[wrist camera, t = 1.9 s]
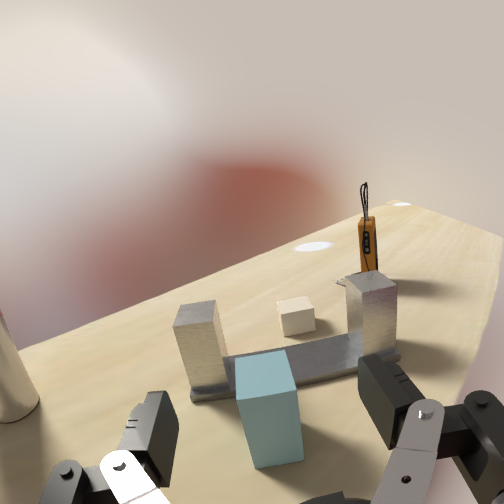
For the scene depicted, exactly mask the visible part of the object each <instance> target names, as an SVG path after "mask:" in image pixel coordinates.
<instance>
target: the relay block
mask: <svg viewBox="0 0 504 504" xmlns="http://www.w3.org/2000/svg"><path fill="white" fill-rule="evenodd" d="M276 304H277V311H278V318H279V324H280V327H281V330H282V333H283V336H284V337H286V336H291V335H296V334H301V333H306V332H311V331H315V330H316V326H315V315H314V307H313V306H312V304H311V302H310V301H309V299H308V298H307V296H303V297H298V298H292V299H287V300H282V301H276Z"/></svg>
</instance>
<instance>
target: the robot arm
mask: <svg viewBox="0 0 504 504" xmlns="http://www.w3.org/2000/svg"><path fill="white" fill-rule="evenodd" d="M358 391H359V395H360V398H361V400H362V402H363V404H364V406H365V407H366V409H367V411H368V413H369V415H370V417H371V418H372V420H373V422H374V424H375V426H376V428H377V429H378V431H379V433H380V435H381V437H382V439H383V441H384V442H385V444H386V446H387V448H388V450H392V449H393V451H392V454H391V456H390V459H389V461H388V464H387V466H386V469H385V471H384V474H383V476H382V478H381V481H380V483H379V485H378V488H377V490H376V492H375V494H374V497H373V499H372V501H371V500H366V499H359V498H344V495H343V492H342V491H341V492H337V493H333V494H329V495H325V496H321V497H316V498H312V499H310V500H307V501H305V502H303V503H300V504H424V501H425V498H426V494H427V491H428V488H429V484H430V481H431V477H432V474H433V470H434V465H435V462H436V459H442V458H448V457H452V459H453V461H454V462H455V464H456V466H457V467H458V469H459V471H460V472H461V474H462V476H463V478H464V479H465V481H466V483H467V485H468V486H469V488H470V490H471V492H472V493H473V495H474V497H475V499H476V500H477V502H478V504H504V406H503V405H502V403H501V402H500V401H499V400H498V399H497V398H496V397H495V396H494V395H493V394H492V393H490V392H487V391H483V390H479V391H474V392H471V393H470V394H468V395H467V396H466V398H465V400H464V404H459V405H453V406H446V407H443V405H442V404H441V403H440V402H438V401H436V400H433V399H426V398H425V397H424V396H423V394H422V393H421V392H420V391H419V389H418V388H417V387H416V386H415V385H414V383H413V382H412V381H411V380H410V379H409V377H408V376H407V375H406V374H405V372H404V371H403V370H402V369H401V367H400V366H399V365H397V364H395V363H393V362H391V361H386V362H383V361H382V360H381V358H380V357H379V356H378V354H377V353H373V354H369V355H366V356H362V357H359V358H358ZM38 400H39V395H38V393H37V391H36V389H35V387H34V385H33V383H32V381H31V379H30V377H29V375H28V373H27V371H26V369H25V367H24V365H23V362H22V360H21V358H20V356H19V354H18V351H17V349H16V347H15V345H14V342H13V340H12V337H11V335H10V333H9V330H8V328H7V325H6V323H5V320H4V318H3V314H2V312H1V310H0V422H3V423H8V422H13V421H16V420H19V419H21V418H23V417H25V416H26V415H28V414H29V413H30V412H31V411H32V410H33V409H34V408H35V406H36V405H37V403H38ZM178 432H179V422H178V418H177V415H176V413H175V410H174V408H173V405H172V403H171V400H170V398H169V395H168V393H167V392H166V391H153V392H148V393H147V396H146V399H145V401H144V403H143V404H138V405H137V406H136V407H135V408H134V409H133V410H132V411H131V414H130V416H129V419H128V422H127V424H126V428H125V430H124V432H123V435H122V438H121V441H120V443H119V446H118V449H117V451H116V452H113V453H111V454H109V455H107V456H106V457H105V458H104V459H103V461H102V463H101V465H98V466H93V467H87V468H82V466H81V465H80V464H79V463H78V462H77V461H74V460H65V461H62V462H60V463H58V464H57V465H56V466H55V467H54V468H53V470H52V472H51V475H50V477H49V479H48V482H47V484H46V487H45V489H44V492H43V494H42V497H41V499H40V502H39V504H170V503H169V502H168V501H167V499H166V498H165V497H164V496H163V494H162V493H161V492H160V491H159V488H160V487H169V486H170V479H171V473H172V467H173V461H174V455H175V449H176V444H177V438H178Z"/></svg>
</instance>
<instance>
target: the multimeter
mask: <svg viewBox="0 0 504 504" xmlns="http://www.w3.org/2000/svg"><path fill="white" fill-rule="evenodd" d="M363 185H364V191H363V198H364V204H363V198H362V191H361V190H362V186H363ZM362 186H361V188H360V195H361V201H362V206H363V212H364V217H361V219H360V221H359V223H358V233H359V245H360V259H361V272H359V273H364V272H369V271H373V270H377V271H378V258H377V240H376V226H375V217H374V216H372V217H368V190H367V205H366V200H365V189H366V188H367V189H368V186H367V182H366V183H365V184H362ZM359 273H354V274H359ZM354 274H351V275H354ZM343 279H345V278H343ZM343 279H341V280H343ZM332 281H334V280H332ZM334 282H336V283H337V284H340V285H343V286H345V283H342V282H339V281H334Z"/></svg>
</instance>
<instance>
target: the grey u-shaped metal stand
mask: <svg viewBox="0 0 504 504" xmlns="http://www.w3.org/2000/svg"><path fill="white" fill-rule="evenodd" d="M345 286H346V303H347V323H348V333H347V334H343V335H339V336H334V337H330V338H325V339H321V340H316V341H311V342H307V343H302V344H297V345H292V346H287V347H281V348H276V349H270V350H265V351H259V352H253V353H247V354H241V355H234V356H228V353H227V348H226V344H225V340H224V335H223V331H222V327H221V322H220V318H219V313H218V309H217V304H216V300H211V301H205V302H198V303H192V304H185V305H180V308H179V311H178V313H177V316H176V319H175V322H174V324H173V329H174V333H175V336H176V340H177V343H178V346H179V350H180V353H181V356H182V359H183V363H184V366H185V369H186V372H187V375H188V378H189V381H190V384H191V392H190V398H191V401H192V402H199V401H209V400H217V399H225V398H233V397H236V377H235V358H240V357H246V356H252V355H258V354H264V353H269V352H275V351H280V350H285V352H286V356H287V359H288V362H289V366H290V369H291V372H292V376H293V379H294V382H295V386H296V387H298V386H302V385H307V384H312V383H316V382H321V381H325V380H329V379H334V378H338V377H342V376H346V375H350V374H354V373H357V372H358V358H359V357H362V356H366V355H369V354H373V353H377V354H378V356H379V357H380V358H381V360H382V361H383V362H386V361H391V362H396V361H399V360H400V353H399V352H398V350H397V349H396V326H397V284H395V283H394V282H393V281H391V280H390V279H388V278H387V277H386V276H384V275H383V274H381V273H380V272H379V271H377V270H373V271H369V272H364V273H359V274H354V275H349V276H345Z"/></svg>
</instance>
